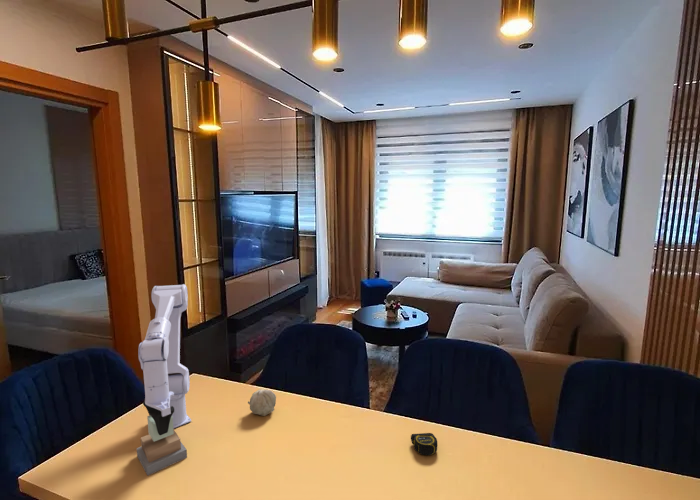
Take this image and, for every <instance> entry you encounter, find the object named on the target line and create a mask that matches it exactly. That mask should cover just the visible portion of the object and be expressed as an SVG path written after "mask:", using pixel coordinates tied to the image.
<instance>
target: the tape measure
mask: <svg viewBox="0 0 700 500" xmlns="http://www.w3.org/2000/svg"><path fill="white" fill-rule="evenodd" d="M410 442H411V444H412V445H413V449H414V450H415V451H416V452H417V453H418V454H420V455H424V456H432V455H434V454H436V453H437V451H438V439H437V438H436V436H435V435H434V434H433V433H432V432H425V433H424V432H423V433H422V432H421V433H411V435H410Z"/></svg>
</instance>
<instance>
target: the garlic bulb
mask: <svg viewBox="0 0 700 500" xmlns="http://www.w3.org/2000/svg"><path fill="white" fill-rule="evenodd" d="M276 402H277V396H276V393H274V392H273V391H272V390H270V389H262V388H261V389H258V390H256V391H254V392H253V393H252V395H251V397H250V399H249V400H248V401H247V404H248V405H249V410H250V411H251V413H252V414H255V415H259V416H263V417H265V416H268V414H271V413H273V412H274V411H275V407H276Z"/></svg>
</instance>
